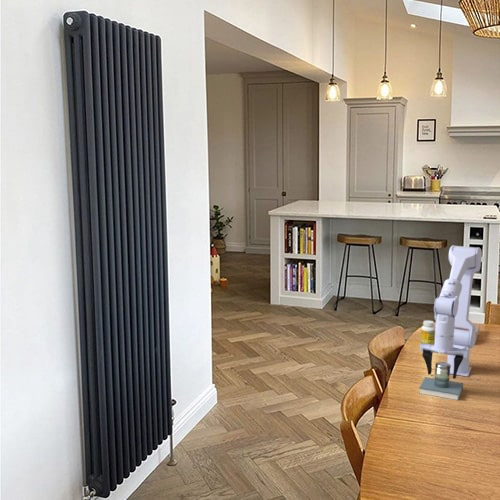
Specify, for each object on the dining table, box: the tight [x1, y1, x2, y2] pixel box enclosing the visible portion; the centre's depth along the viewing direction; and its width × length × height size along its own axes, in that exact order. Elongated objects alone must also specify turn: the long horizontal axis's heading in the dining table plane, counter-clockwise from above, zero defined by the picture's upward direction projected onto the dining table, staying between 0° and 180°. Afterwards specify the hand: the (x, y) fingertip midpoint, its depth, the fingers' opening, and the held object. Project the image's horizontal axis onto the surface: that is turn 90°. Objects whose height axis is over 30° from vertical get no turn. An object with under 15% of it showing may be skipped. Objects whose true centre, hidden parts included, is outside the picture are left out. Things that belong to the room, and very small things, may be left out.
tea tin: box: [433, 361, 451, 388], centre depth 198 cm, size 5×5×7 cm
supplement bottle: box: [420, 319, 435, 345], centre depth 245 cm, size 5×5×10 cm
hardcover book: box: [418, 376, 464, 401], centre depth 199 cm, size 10×12×2 cm
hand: (442, 375), depth 199 cm, fingers open, 7 cm apart
